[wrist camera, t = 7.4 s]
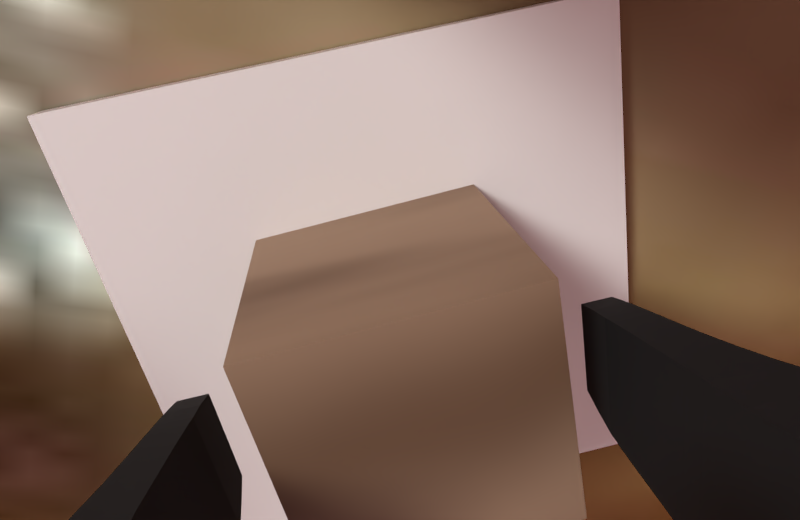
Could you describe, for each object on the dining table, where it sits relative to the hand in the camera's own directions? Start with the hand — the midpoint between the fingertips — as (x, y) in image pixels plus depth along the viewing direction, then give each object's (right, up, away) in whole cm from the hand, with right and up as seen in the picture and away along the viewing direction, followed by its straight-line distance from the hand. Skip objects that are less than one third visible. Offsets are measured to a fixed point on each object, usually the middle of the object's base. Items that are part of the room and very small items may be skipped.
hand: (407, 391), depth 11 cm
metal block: (0, +1, +3) cm, 3 cm away
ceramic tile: (0, +2, +3) cm, 4 cm away
